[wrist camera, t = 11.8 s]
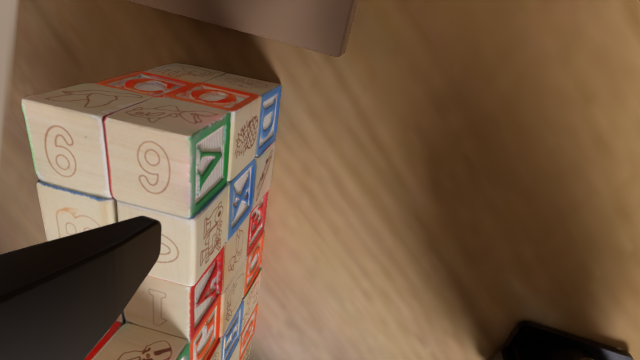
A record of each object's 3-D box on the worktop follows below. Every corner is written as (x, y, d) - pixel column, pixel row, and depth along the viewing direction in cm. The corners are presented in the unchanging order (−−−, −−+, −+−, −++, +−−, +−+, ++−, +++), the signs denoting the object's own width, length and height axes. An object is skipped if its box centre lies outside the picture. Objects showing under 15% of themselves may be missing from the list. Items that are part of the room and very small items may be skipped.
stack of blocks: (173, 58, 21) (-92, 117, 10) (284, 81, 20) (134, 174, 9) (175, 339, 30) (41, 531, 19) (251, 362, 29) (158, 576, 18)
